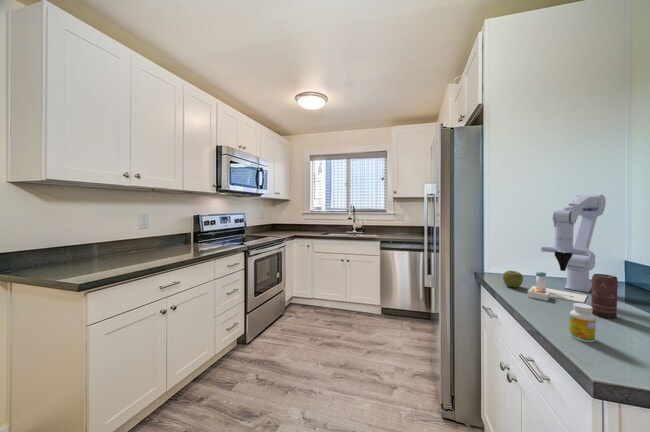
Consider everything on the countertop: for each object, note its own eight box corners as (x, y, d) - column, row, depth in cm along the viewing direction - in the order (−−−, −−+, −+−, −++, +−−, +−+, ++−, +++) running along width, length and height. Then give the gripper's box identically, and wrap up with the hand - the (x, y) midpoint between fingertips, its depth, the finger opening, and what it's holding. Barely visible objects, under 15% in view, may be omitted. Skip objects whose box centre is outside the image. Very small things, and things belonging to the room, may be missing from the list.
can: (622, 319, 88) (624, 278, 87) (600, 318, 89) (601, 277, 89) (607, 312, 94) (608, 273, 93) (586, 311, 95) (587, 273, 95)
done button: (534, 293, 113) (534, 288, 113) (545, 296, 110) (545, 290, 110) (532, 295, 110) (532, 290, 110) (543, 298, 108) (543, 292, 107)
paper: (533, 286, 124) (533, 285, 124) (587, 296, 110) (587, 295, 110) (526, 291, 117) (526, 291, 117) (583, 303, 103) (583, 302, 103)
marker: (537, 289, 119) (536, 271, 119) (546, 290, 116) (546, 272, 116) (535, 290, 117) (535, 272, 117) (545, 292, 114) (544, 274, 114)
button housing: (531, 293, 115) (531, 287, 115) (550, 297, 110) (550, 291, 110) (527, 297, 111) (527, 291, 110) (547, 301, 106) (547, 294, 106)
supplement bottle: (564, 334, 80) (565, 302, 79) (580, 332, 80) (581, 301, 80) (583, 343, 74) (584, 309, 74) (600, 342, 75) (601, 308, 74)
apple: (507, 289, 121) (507, 273, 121) (499, 283, 129) (499, 269, 128) (526, 289, 119) (526, 274, 119) (517, 284, 127) (517, 269, 127)
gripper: (539, 237, 114) (539, 268, 115) (586, 241, 103) (585, 275, 104) (543, 236, 119) (542, 266, 119) (589, 239, 108) (587, 272, 108)
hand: (563, 270), depth 112 cm, fingers closed
